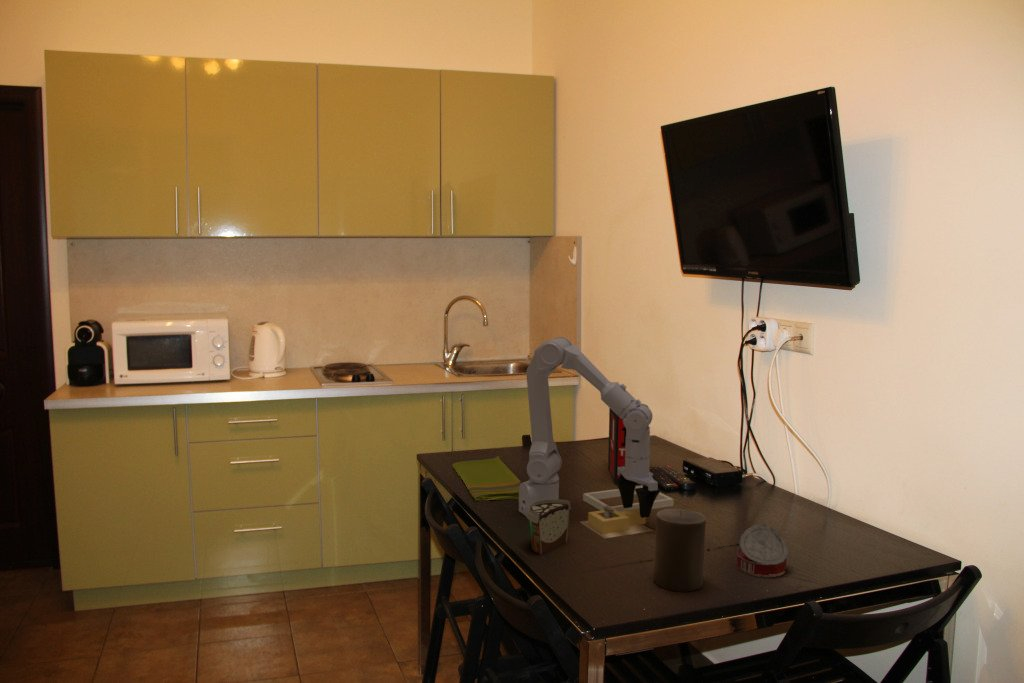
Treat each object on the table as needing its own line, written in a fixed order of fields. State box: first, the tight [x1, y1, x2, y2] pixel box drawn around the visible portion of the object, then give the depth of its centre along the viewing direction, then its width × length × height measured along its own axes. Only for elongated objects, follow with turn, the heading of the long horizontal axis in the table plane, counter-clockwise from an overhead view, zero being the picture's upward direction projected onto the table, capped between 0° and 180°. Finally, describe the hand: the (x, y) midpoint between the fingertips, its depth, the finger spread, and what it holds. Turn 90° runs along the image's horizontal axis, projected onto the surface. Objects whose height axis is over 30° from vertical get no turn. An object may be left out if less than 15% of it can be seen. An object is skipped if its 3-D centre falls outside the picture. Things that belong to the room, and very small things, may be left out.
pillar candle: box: [653, 508, 707, 593], centre depth 166 cm, size 10×10×15 cm
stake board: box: [579, 505, 654, 540], centre depth 196 cm, size 13×12×6 cm
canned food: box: [736, 523, 789, 575], centre depth 173 cm, size 11×10×10 cm
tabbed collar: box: [587, 509, 647, 534], centre depth 196 cm, size 13×7×3 cm, turn 114°
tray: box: [582, 485, 675, 511], centre depth 214 cm, size 19×13×2 cm
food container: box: [525, 499, 572, 555], centre depth 183 cm, size 12×6×10 cm, turn 141°
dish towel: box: [451, 455, 523, 502], centre depth 234 cm, size 15×36×3 cm, turn 14°
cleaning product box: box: [607, 407, 650, 486], centre depth 239 cm, size 16×9×20 cm, turn 0°
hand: (636, 512), depth 198 cm, fingers open, 7 cm apart
